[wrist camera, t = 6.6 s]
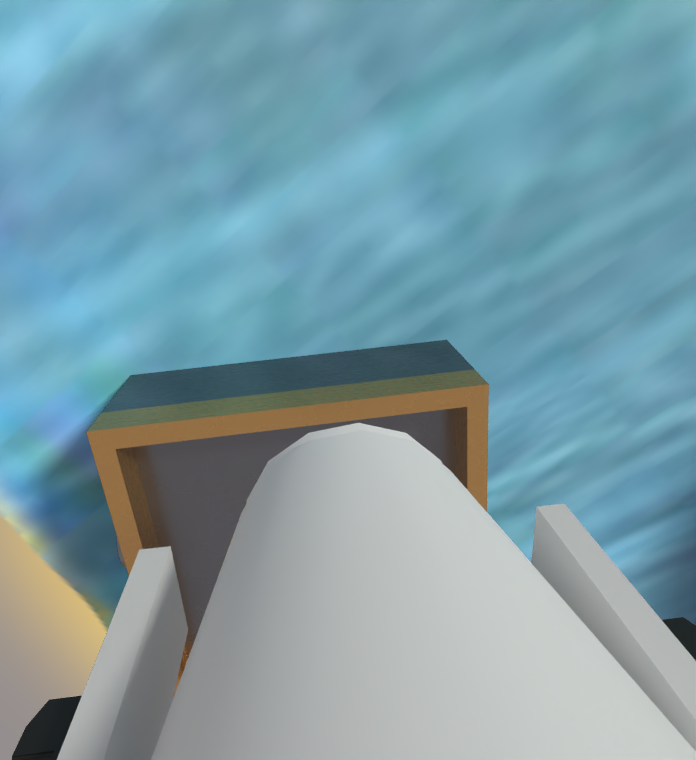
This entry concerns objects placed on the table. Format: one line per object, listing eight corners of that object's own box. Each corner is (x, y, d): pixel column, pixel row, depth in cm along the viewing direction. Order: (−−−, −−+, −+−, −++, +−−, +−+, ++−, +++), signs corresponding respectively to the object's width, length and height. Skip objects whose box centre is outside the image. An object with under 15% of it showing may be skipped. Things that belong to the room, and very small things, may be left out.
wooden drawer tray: (446, 340, 31) (488, 384, 24) (450, 584, 38) (484, 670, 31) (101, 378, 30) (48, 436, 23) (168, 624, 36) (141, 722, 30)
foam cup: (317, 681, 18) (375, 1683, 6) (119, 503, 15) (-587, 1881, 3) (557, 532, 17) (1221, 1417, 5) (398, 302, 14) (1205, 1247, 2)
